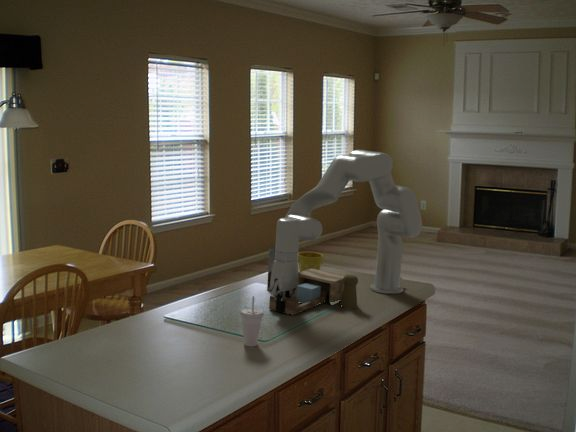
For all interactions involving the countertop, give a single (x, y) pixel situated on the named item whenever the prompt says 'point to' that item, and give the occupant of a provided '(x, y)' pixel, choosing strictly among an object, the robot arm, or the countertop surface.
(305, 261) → the plant pot
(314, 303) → the brown wooden frame
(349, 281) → the cork
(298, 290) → the blue block
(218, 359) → the countertop surface
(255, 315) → the smoothie
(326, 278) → the tan boxy piece
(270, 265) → the coffee box
